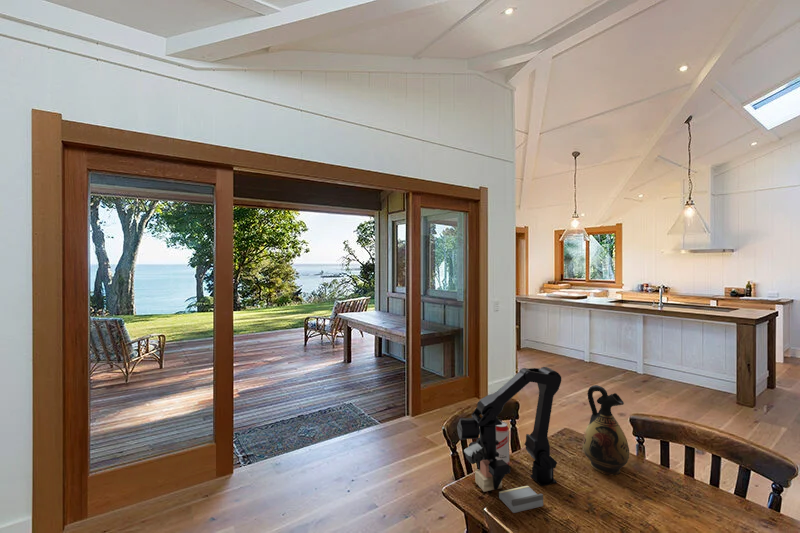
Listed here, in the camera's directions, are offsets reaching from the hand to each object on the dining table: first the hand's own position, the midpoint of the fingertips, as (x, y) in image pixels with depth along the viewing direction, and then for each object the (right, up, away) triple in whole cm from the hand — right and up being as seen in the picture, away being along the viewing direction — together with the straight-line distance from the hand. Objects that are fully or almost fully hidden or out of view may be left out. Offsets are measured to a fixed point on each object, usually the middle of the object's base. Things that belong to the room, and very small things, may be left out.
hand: (488, 481), depth 128 cm
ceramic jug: (+46, -1, +10) cm, 47 cm away
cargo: (0, +3, 0) cm, 3 cm away
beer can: (+8, -1, +12) cm, 15 cm away
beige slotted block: (0, -1, 0) cm, 1 cm away
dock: (+8, -1, -10) cm, 13 cm away
